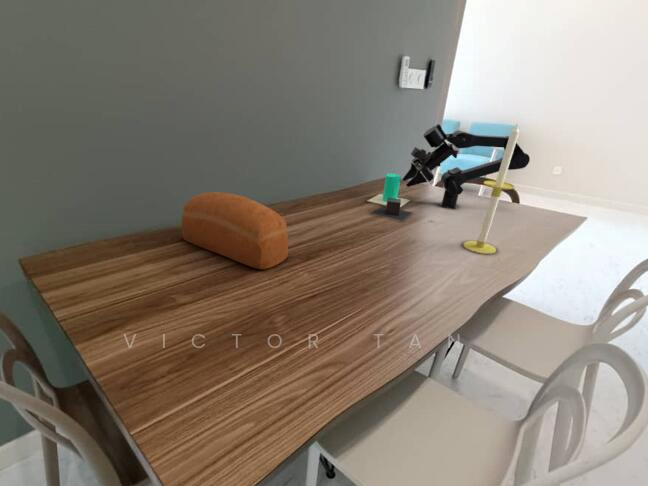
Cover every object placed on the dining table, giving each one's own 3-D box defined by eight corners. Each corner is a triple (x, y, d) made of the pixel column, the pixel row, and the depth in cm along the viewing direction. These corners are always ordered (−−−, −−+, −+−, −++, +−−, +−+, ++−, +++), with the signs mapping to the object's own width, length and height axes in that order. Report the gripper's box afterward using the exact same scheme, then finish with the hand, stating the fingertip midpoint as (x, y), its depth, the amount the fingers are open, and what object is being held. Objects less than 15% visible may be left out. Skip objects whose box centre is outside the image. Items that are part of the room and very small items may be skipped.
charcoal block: (385, 210, 154) (387, 197, 151) (398, 211, 153) (400, 198, 150) (385, 214, 149) (387, 201, 147) (398, 215, 149) (400, 202, 146)
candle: (398, 202, 163) (403, 173, 157) (384, 202, 162) (389, 172, 156) (394, 198, 168) (399, 169, 162) (380, 198, 168) (385, 169, 161)
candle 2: (472, 239, 133) (507, 118, 114) (501, 249, 127) (544, 123, 108) (457, 246, 127) (492, 119, 108) (487, 256, 121) (530, 124, 102)
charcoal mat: (382, 207, 158) (383, 205, 158) (411, 213, 153) (411, 212, 153) (371, 214, 150) (371, 213, 149) (401, 221, 144) (401, 220, 144)
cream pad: (379, 194, 174) (379, 193, 174) (410, 201, 168) (410, 200, 168) (366, 201, 163) (367, 200, 163) (398, 209, 157) (399, 207, 157)
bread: (261, 273, 102) (261, 216, 95) (178, 240, 118) (172, 188, 110) (292, 257, 112) (295, 203, 104) (212, 228, 128) (209, 180, 120)
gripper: (421, 136, 161) (390, 163, 166) (431, 144, 145) (396, 173, 150) (436, 158, 165) (405, 182, 170) (448, 167, 149) (413, 195, 154)
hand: (404, 183), depth 161 cm, fingers open, 9 cm apart
